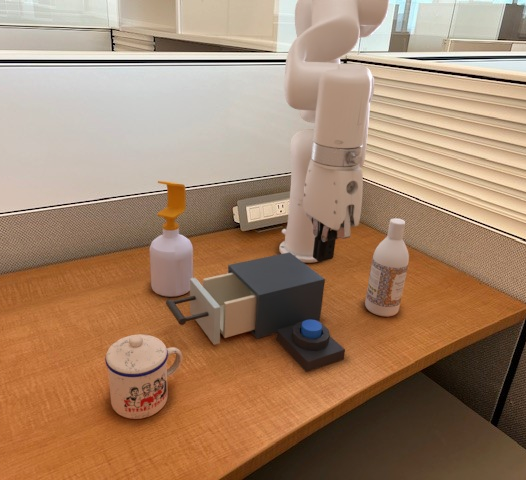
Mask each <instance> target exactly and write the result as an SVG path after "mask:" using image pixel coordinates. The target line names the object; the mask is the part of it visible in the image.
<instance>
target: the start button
mask: <svg viewBox="0 0 526 480" xmlns="http://www.w3.org/2000/svg"><path fill="white" fill-rule="evenodd" d="M321 324H322V323H321V322H320V321H316V320H311V319H309V320H305V321H303V322H302V327H301V334H302V335H303V336H305V337H307V338H314V339H315V338H319V337H320V336H321V332H322V325H321Z"/></svg>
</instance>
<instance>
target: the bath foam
mask: <svg viewBox="0 0 526 480" xmlns="http://www.w3.org/2000/svg"><path fill="white" fill-rule="evenodd" d="M405 228H406V221H405V220H404V219H402V218H396V217H395V218H394V217H393V218H391V219H390V220H389V224H388V229H387V236H386V237H385V238H384V239H382V240H381V241H380V242H379V244H378V245H377V246H376V248H375V250H374V251H373V255H372V260H371V265H370V272H369V277H368V282H367V288H366V295H365V301H364V302H365V303H364V306H365V308H366V309H367V310H368V312H370V313H371V314H374V315H376V316H378V317H379V316H380V317H393V316H395V315H397V314H398V313H399V311H400V306H401V301H402V296H403V292H404V287H405V282H406V278H407V273H408V268H409V263H410V262H409V261H410V254H409V249H408V247H407V245H406V243H405V241H404V239H403V238H404V234H405Z"/></svg>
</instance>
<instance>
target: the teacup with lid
mask: <svg viewBox="0 0 526 480" xmlns="http://www.w3.org/2000/svg"><path fill="white" fill-rule="evenodd" d="M107 349H108V350H107V351H106V353H105V358H104V362H105V365H106V367H107V377H108V385H109V394H110V395H109V396H110V404H111V407H112V409H113V410H114V411H115V413H117V414H118V415H119V416H121V417H123V418H127V419H132V420H137V419H138V420H139V419H145V418H149V417H152V416H153V415H155V414H157V413H158V412H159V411H160V410H162V409H163V408H164V406H165V405H166V403H167V401H168V398H169V397H168V396H169V393H168V378H169V377H171V376H173V375H174V374H176V372H177V371H178V370H179V369H180V367H181V365H182V361H183V353H182V351H181V350H180V349H179V348H177V347H175V346H174V347H173V346H172V347H167V346H166V344H165V343H164V342H163V341H162V340H161V339H159V338H158V337H156V336H153V335H149V334H141V333H139V334H132V335H127V336H124V337H121V338H120V339H118V340H116V341H114V343H112V344H111V345H110V346H109V347H108V348H107ZM171 355H175V359H174V362H173V363H172V364H171V366H170V367H169V368H168V365H167V364H168V363H167V362H168V361H167V360H168V358H169V356H171Z"/></svg>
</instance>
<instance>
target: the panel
mask: <svg viewBox="0 0 526 480" xmlns="http://www.w3.org/2000/svg"><path fill="white" fill-rule="evenodd" d="M302 322H303V321H302ZM302 322H299V323H297V324H296V325H293V326H290V327H286V328H283V329H279V330H277V333H276V337H275V340H276V341H277V342H278V343H279V344H280V346H282V348H283V349H285V351H286V352H287V353H288V354H289V355H290V356H291V357H292V358H293V360H295V361H296V362H297V364H299V366H300V367H301V368H302V369H303V370H304V371H305V372H306V373H308V372H311V371H315V370H316V369H317V370H318V369H320V368H322V367H325V366H328V365H331V364H334V363H337V362H341V361H343V360H344V359H345V354H346V348H344V347H343V346H342V345H341V344H340V343H338V341H337V340H335V339H334V337H332V336H331V334H330V330H329V328H328V327H326V325H325V324H323V323H321V325H322V332H321V336H320V337H319V338H315V339H314V338H307V337H305V336H303V335H302V334H301V327H302Z"/></svg>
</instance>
